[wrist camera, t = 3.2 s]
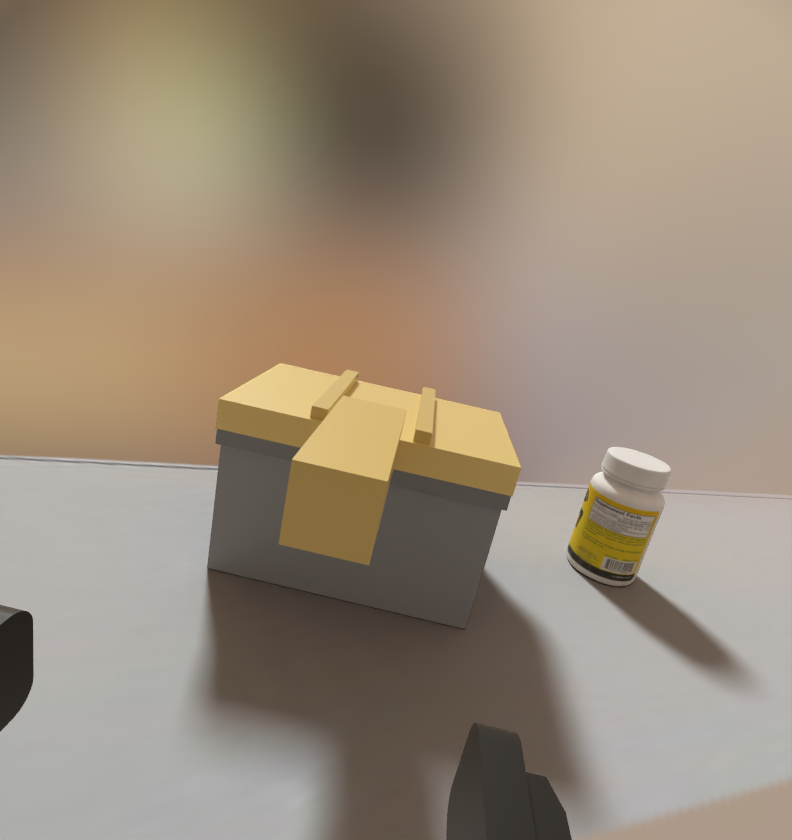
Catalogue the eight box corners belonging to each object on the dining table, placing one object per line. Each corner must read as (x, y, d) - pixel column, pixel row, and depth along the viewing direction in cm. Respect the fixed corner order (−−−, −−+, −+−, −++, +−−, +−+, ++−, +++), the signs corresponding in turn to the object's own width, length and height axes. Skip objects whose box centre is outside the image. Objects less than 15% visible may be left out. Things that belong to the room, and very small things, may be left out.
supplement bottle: (584, 542, 39) (620, 441, 37) (644, 576, 36) (689, 468, 34) (552, 557, 36) (590, 447, 33) (615, 596, 33) (662, 479, 30)
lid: (107, 503, 17) (110, 417, 16) (277, 385, 34) (283, 340, 33) (545, 607, 16) (574, 524, 15) (493, 434, 33) (505, 390, 32)
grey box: (201, 569, 27) (216, 428, 25) (262, 494, 36) (277, 385, 34) (469, 632, 27) (511, 495, 24) (463, 540, 36) (493, 434, 33)
